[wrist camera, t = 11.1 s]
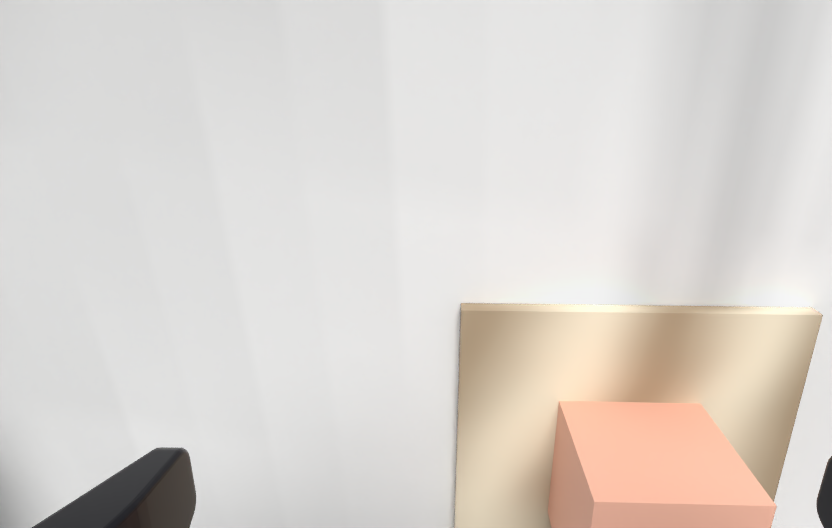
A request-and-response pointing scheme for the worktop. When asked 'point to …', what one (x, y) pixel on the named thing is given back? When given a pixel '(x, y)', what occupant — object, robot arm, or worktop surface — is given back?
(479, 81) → the worktop surface
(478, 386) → the birch board
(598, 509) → the coral cube
